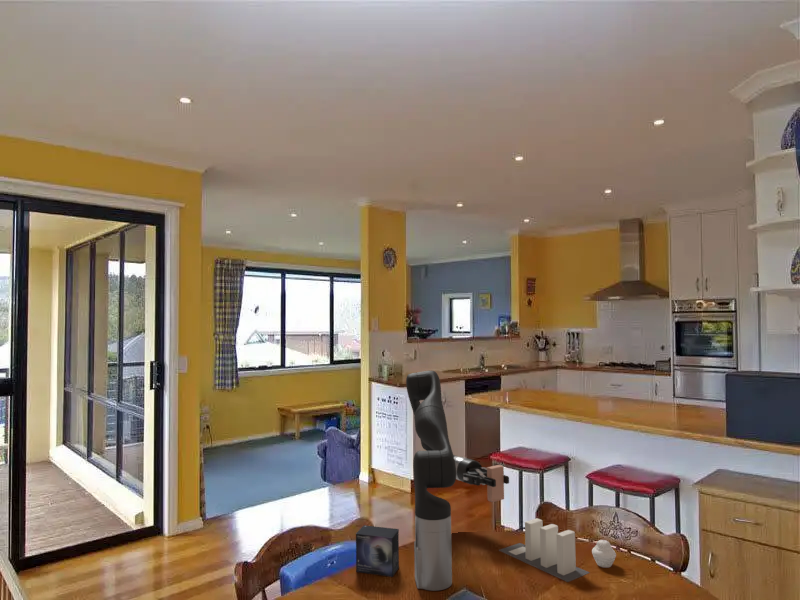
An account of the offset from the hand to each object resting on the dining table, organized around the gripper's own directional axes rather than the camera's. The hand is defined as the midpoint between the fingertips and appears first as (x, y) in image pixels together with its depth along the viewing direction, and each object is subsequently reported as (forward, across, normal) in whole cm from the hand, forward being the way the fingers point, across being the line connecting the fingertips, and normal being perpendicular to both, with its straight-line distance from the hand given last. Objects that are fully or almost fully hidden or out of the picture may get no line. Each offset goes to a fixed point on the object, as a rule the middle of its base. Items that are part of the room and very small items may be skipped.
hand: (501, 481), depth 167 cm
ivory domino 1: (+14, -1, +18) cm, 22 cm away
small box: (-6, -40, +18) cm, 45 cm away
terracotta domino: (-3, 0, +6) cm, 7 cm away
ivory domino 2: (+19, -1, +18) cm, 26 cm away
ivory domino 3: (+25, -1, +17) cm, 30 cm away
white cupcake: (+28, +10, +18) cm, 35 cm away
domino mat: (+16, -1, +18) cm, 24 cm away
